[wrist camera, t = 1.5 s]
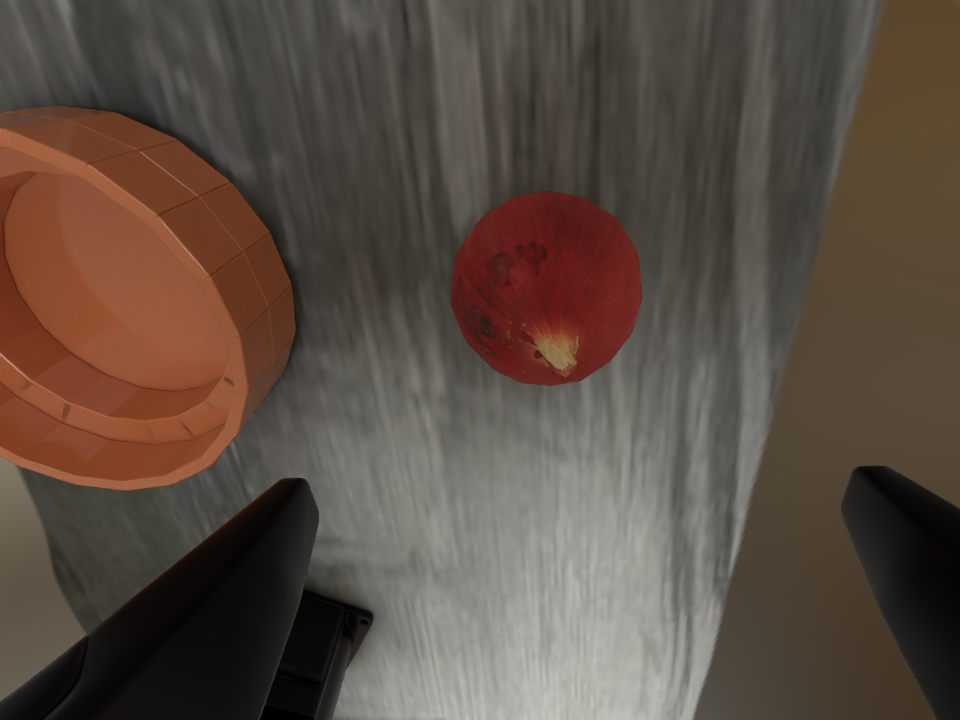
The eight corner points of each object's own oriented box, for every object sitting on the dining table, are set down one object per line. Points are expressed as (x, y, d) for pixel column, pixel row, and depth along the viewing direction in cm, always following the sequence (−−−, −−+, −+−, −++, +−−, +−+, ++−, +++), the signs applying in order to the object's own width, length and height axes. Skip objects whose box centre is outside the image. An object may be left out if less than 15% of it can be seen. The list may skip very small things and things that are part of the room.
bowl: (264, 450, 26) (213, 531, 21) (-19, 348, 24) (-140, 414, 19) (337, 203, 19) (285, 247, 15) (-42, 35, 17) (-227, 30, 13)
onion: (455, 309, 21) (424, 436, 14) (471, 159, 18) (442, 225, 11) (600, 329, 21) (638, 465, 14) (639, 182, 18) (710, 263, 11)
